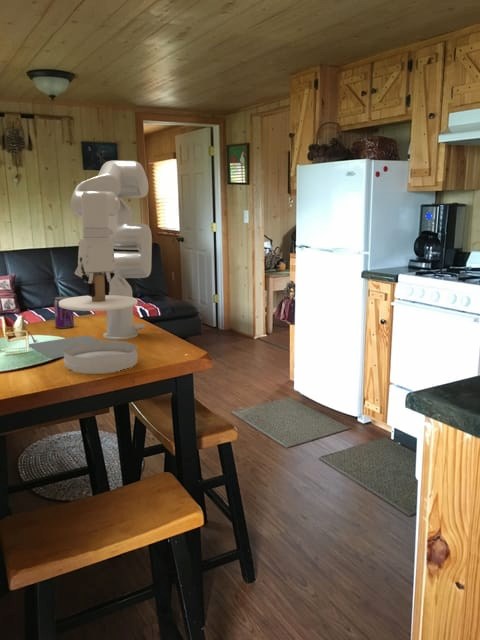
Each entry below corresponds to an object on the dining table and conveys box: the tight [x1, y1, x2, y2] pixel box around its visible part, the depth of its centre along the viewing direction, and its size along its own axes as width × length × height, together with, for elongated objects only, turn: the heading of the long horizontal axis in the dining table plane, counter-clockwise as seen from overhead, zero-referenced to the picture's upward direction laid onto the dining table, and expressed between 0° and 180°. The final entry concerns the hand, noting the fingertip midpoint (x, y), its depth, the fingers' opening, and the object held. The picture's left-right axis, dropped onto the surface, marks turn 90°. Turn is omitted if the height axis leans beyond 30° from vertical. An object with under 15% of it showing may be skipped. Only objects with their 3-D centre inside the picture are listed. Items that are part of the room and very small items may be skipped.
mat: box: [28, 335, 110, 360], centre depth 187 cm, size 23×23×1 cm
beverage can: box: [53, 296, 75, 329], centre depth 218 cm, size 7×7×12 cm
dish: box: [63, 339, 138, 375], centre depth 168 cm, size 22×22×5 cm
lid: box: [59, 273, 138, 312], centre depth 164 cm, size 23×23×9 cm
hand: (98, 294), depth 164 cm, fingers closed on lid, 4 cm apart
